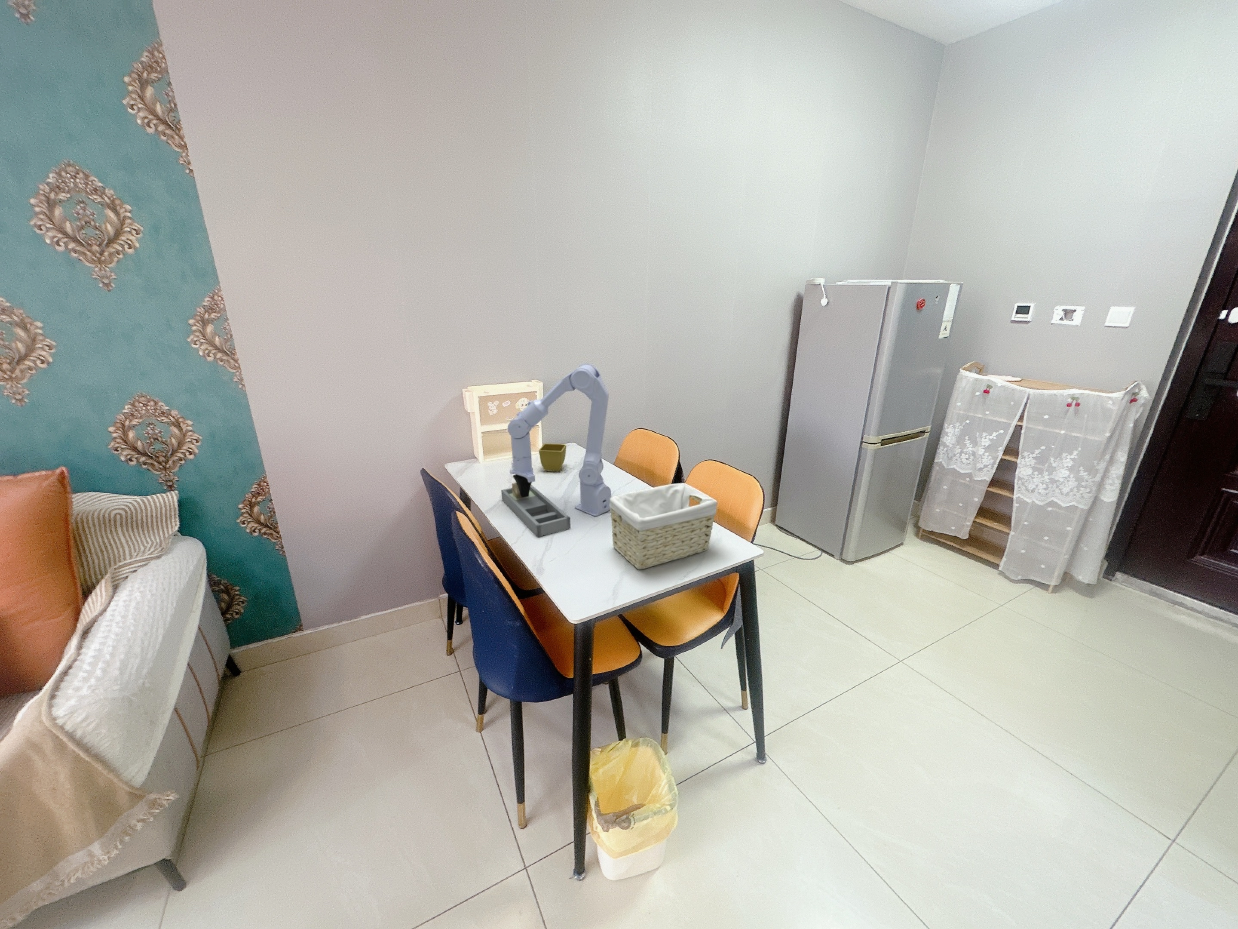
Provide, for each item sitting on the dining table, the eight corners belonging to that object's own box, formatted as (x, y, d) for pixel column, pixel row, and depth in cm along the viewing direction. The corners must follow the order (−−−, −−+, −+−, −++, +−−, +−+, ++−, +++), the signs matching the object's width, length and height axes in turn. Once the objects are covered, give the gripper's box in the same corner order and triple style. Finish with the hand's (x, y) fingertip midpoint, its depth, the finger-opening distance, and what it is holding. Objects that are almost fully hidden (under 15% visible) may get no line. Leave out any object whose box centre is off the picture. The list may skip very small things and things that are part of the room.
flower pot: (567, 466, 188) (566, 444, 185) (562, 474, 180) (561, 451, 177) (545, 465, 189) (544, 443, 186) (539, 473, 181) (538, 450, 178)
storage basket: (680, 527, 139) (682, 479, 134) (717, 552, 126) (720, 500, 121) (606, 547, 129) (606, 496, 124) (638, 576, 115) (638, 520, 110)
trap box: (570, 528, 138) (570, 517, 137) (537, 537, 133) (537, 526, 132) (531, 493, 162) (530, 483, 161) (502, 499, 157) (501, 490, 156)
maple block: (529, 496, 155) (528, 484, 154) (517, 499, 153) (516, 487, 152) (524, 492, 158) (523, 480, 157) (512, 494, 156) (511, 483, 155)
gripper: (501, 451, 152) (504, 491, 157) (517, 464, 140) (521, 507, 145) (522, 447, 155) (525, 486, 160) (540, 460, 144) (542, 502, 148)
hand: (524, 496), depth 153 cm, fingers closed
